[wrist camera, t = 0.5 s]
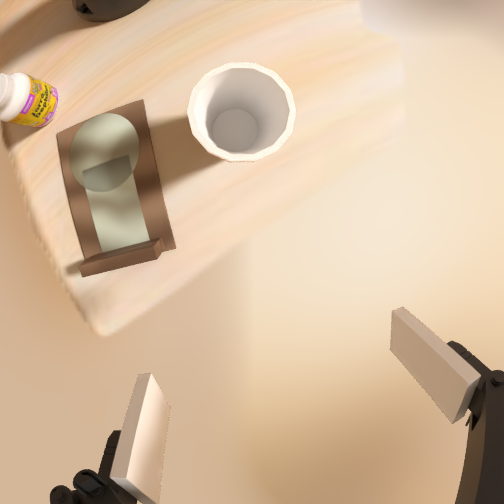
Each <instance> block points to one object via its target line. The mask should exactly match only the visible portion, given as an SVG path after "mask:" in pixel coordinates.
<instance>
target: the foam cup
mask: <svg viewBox="0 0 504 504" xmlns="http://www.w3.org/2000/svg"><path fill="white" fill-rule="evenodd" d="M187 114H188V118H189V122H190V126H191V130H192V134H193V135H194V137H195V138H196V139H197V140H198V141H199V142H200V144H201V145H202V146H203V147H204V148H205V149H206V150H207V152H208V153H209V154H212V155H214V156H216V157H219V158H221V159H223V160H226V161H228V162H254V161H256V160H258V159H260V158H262V157H265V156H267V155H269V154H271V153H273V152H275V151H277V150H278V149H279V148H280V147H281V145H282V144H283V143H284V142H285V140H286V139H287V138H288V137H289V136H290V134H291V133H292V130H293V125H294V120H295V115H296V107H295V104H294V100H293V96H292V93H291V89H290V88H289V87H288V86H287V85H286V84H285V83H284V81H283V80H282V79H281V78H280V77H279V76H278V75H277V74H276V73H275V72H273V71H271V70H269V69H267V68H265V67H262V66H260V65H258V64H255V63H228V64H225V65H223V66H220V67H218V68H216V69H214V70H211V71H209V72H207V74H206V75H205V76H204V77H203V78H202V79H201V80H200V81H199V83H198V84H197V85H196V86H195V87H194V88H193V90H192V93H191V97H190V101H189V105H188V109H187Z"/></svg>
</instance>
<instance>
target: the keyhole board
mask: <svg viewBox="0 0 504 504" xmlns="http://www.w3.org/2000/svg"><path fill="white" fill-rule="evenodd" d="M57 137H58V145H59V151H60V157H61V163H62V169H63V174H64V179H65V184H66V189H67V193H68V198H69V202H70V206H71V210H72V214H73V218H74V222H75V225H76V229H77V233H78V236H79V239H80V243H81V246H82V249H83V252H84V256H85V259H86V261H85V262H83V263H82V264H80V265H79V269H80V272H81V275H82V277H86V276H90V275H94V274H99V273H103V272H107V271H111V270H115V269H119V268H123V267H127V266H131V265H135V264H139V263H144V262H148V261H152V260H156V259H158V257H159V256H160V254H161V253H162V252H164V251H168V250H172V249H176V245H175V241H174V237H173V234H172V230H171V226H170V222H169V218H168V214H167V210H166V206H165V202H164V198H163V194H162V190H161V185H160V181H159V177H158V172H157V168H156V163H155V158H154V154H153V149H152V144H151V139H150V133H149V128H148V123H147V117H146V112H145V106H144V100H143V99H142V100H139V101H136V102H133V103H130V104H127V105H124V106H121V107H118V108H116V109H113V110H110V111H108V112H105V113H102V114H100V115H97V116H95V117H93V118H90V119H88V120H85V121H83V122H81V123H79V124H76V125H74V126H72V127H70V128H68V129H65V130H63V131H61V132H59V133H57Z"/></svg>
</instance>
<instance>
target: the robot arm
mask: <svg viewBox="0 0 504 504" xmlns="http://www.w3.org/2000/svg"><path fill="white" fill-rule="evenodd" d="M148 1H149V0H72V3H73V7H74V9H75V10H76V12H77V13H78V14H79V15H80V16H81V17H82V18H83V19H85V20H88V21H92V22H104V21H110V20H114V19H117V18H120V17H123V16H125V15H127V14H129V13H131V12H133V11H135V10H137V9H138V8H140V7H141V6H143V5H144V4H145V3H147V2H148ZM390 344H391V345H390V350H391V351H392V352H393V354H394V355H395V356H396V357H397V358H398V359H399V361H400V362H401V363H402V364H403V365H404V366H405V368H406V369H407V370H408V371H409V372H410V373H411V374H412V376H413V377H414V378H415V379H416V380H417V382H418V383H419V384H420V385H421V386H422V388H424V390H425V391H426V392H427V393H428V395H429V396H430V397H431V398H432V400H433V401H434V402H435V403H436V404H437V406H438V407H439V408H440V409H441V411H442V412H443V413H444V414H445V415H446V417H447V418H448V419H449V420H450V422H451V423H452V424H453V423H455V422H456V421H458V420H459V419H461V418H462V417H464V415H465V413H466V411H467V409H469V410H470V411H471V414H470V416H469V418H468V420H467V422H466V426H467V425H468V423H469V432H468V440H467V448H466V454H465V460H464V467H463V472H462V477H461V481H460V485H459V490H458V494H457V498H456V502H455V504H504V372H503V371H501V370H494V371H491V370H490V369H489V368H487V367H486V366H485V365H484V364H483V363H482V362H481V361H480V360H478V359H477V358H476V357H475V356H474V355H472V354H471V353H470V352H469V351H467V349H466V348H464V347H463V346H462V345H461V344H459V343H456V342H454V341H451V342H448V343H447V344H446V343H445V342H444V341H443V340H442V339H441V338H439V337H438V336H437V335H436V334H435V333H434V332H433V331H431V330H430V329H429V328H428V327H427V326H426V325H424V324H423V323H422V322H421V321H420V320H418V319H417V318H416V317H415V316H414V315H412V314H411V313H410V312H409V311H408V310H407V309H405V308H404V307H401V308H398V309H396V310H393V311H392V323H391V343H390ZM169 413H170V405H169V404H168V402H167V401H166V399H165V397H164V395H163V393H162V392H161V390H160V388H159V386H158V385H157V383H156V381H155V379H154V377H153V375H152V374H151V373H146V374H139V375H138V378H137V381H136V384H135V387H134V390H133V393H132V396H131V400H130V403H129V407H128V410H127V413H126V417H125V420H124V424H123V427H122V430H118V431H117V430H116V431H115V430H114V431H113V433H112V434H111V435H110V436H109V438H108V440H107V444H106V448H105V450H104V455H103V457H102V461H101V464H100V468H99V472H98V474H97V473H95V472H94V471H92V470H90V469H85V470H82V471H80V472H78V473H77V474H76V476H75V477H74V479H73V486H74V488H75V489H76V490H73V491H71V490H70V489H69V488H67V487H66V486H63V485H59V486H56V487H55V488H54V489H52V491H51V493H50V504H137V500H138V501H139V502H141V503H142V504H159V499H160V489H161V478H162V468H163V460H164V451H165V443H166V435H167V428H168V421H169Z"/></svg>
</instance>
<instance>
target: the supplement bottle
mask: <svg viewBox="0 0 504 504" xmlns="http://www.w3.org/2000/svg"><path fill="white" fill-rule="evenodd" d="M59 105H60V95H59V92H58V91H57V89H56V88H54V87H52V86H51V85H48V84H46V83H44V82H42V81H40V80H37V79H35V78H33V77H31V76H29V75H26V74H24V73H21V72H17V73H13V74H11V75H5V74H0V120H1V121H5V122H11V123H16V124H22V125H27V126H33V127H42V126H45V125H46V124H48V123H49V122H50V121H51V120H52V119H53V118H54V117H55V115H56V113H57V111H58V109H59Z"/></svg>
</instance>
